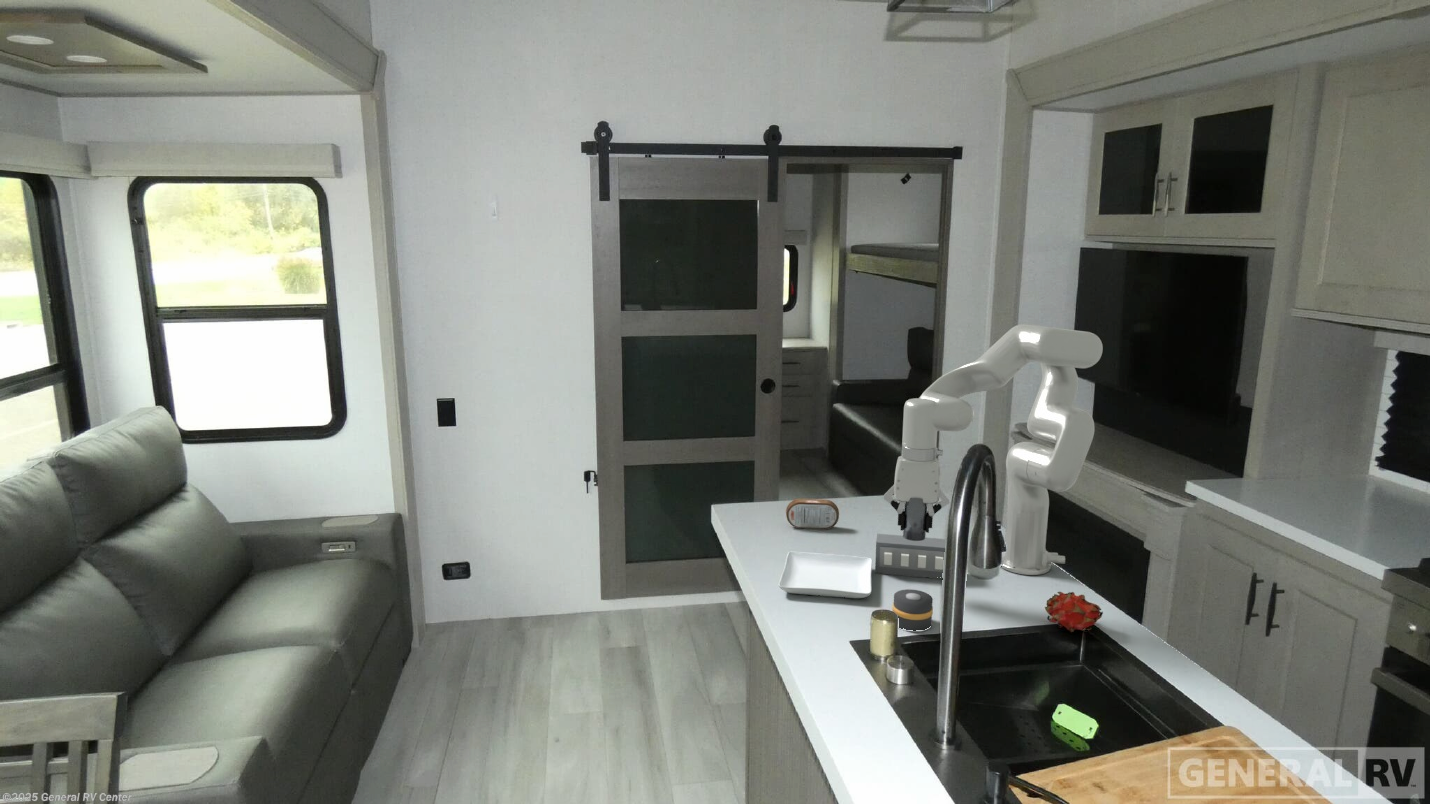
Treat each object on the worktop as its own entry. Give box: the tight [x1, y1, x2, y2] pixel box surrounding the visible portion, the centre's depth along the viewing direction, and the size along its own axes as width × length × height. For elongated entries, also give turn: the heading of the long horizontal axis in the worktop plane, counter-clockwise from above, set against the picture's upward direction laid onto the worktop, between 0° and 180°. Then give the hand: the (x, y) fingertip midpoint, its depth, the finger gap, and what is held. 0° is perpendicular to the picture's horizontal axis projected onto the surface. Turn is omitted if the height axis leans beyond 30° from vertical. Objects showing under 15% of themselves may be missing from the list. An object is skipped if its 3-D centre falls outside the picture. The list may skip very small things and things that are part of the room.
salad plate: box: [778, 551, 873, 599], centre depth 193 cm, size 21×21×3 cm
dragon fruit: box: [1044, 591, 1104, 633], centre depth 169 cm, size 8×8×12 cm
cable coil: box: [892, 588, 934, 631], centre depth 171 cm, size 8×8×6 cm
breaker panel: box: [874, 533, 946, 580], centre depth 197 cm, size 18×8×8 cm, turn 76°
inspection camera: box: [902, 498, 928, 541], centre depth 185 cm, size 5×5×10 cm
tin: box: [785, 498, 840, 530], centre depth 228 cm, size 15×3×8 cm, turn 84°
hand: (914, 528), depth 185 cm, fingers closed on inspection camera, 5 cm apart
